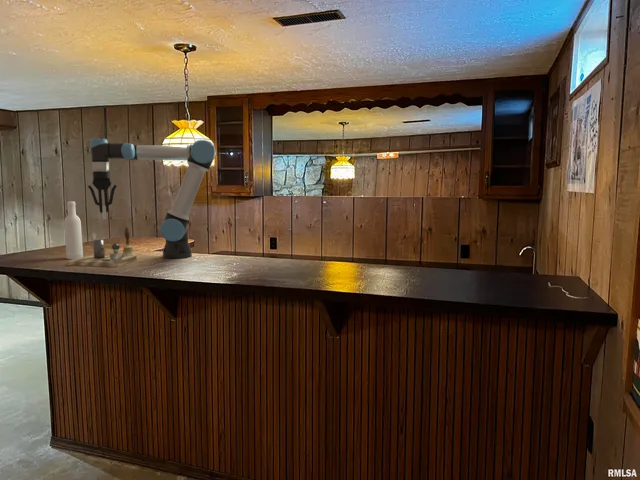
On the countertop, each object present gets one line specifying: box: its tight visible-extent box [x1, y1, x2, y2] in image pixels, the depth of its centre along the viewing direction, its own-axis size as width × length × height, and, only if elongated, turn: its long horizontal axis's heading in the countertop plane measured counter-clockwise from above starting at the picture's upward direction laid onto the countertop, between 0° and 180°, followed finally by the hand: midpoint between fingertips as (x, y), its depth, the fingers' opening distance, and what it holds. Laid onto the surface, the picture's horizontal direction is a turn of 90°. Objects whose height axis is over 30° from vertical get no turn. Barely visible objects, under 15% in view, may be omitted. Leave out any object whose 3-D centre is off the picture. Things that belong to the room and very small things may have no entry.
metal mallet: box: [92, 238, 121, 258], centre depth 228 cm, size 15×5×9 cm, turn 73°
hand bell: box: [121, 226, 138, 257], centre depth 245 cm, size 8×8×16 cm
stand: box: [66, 249, 137, 268], centre depth 227 cm, size 26×18×8 cm
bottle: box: [63, 200, 84, 260], centre depth 238 cm, size 8×8×30 cm
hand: (104, 218), depth 225 cm, fingers closed
